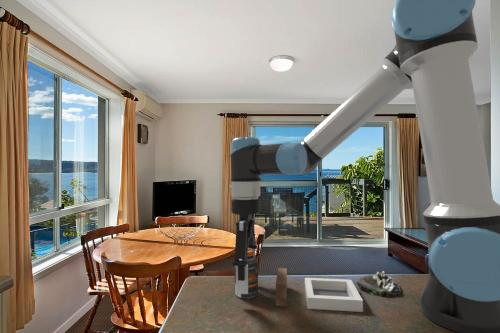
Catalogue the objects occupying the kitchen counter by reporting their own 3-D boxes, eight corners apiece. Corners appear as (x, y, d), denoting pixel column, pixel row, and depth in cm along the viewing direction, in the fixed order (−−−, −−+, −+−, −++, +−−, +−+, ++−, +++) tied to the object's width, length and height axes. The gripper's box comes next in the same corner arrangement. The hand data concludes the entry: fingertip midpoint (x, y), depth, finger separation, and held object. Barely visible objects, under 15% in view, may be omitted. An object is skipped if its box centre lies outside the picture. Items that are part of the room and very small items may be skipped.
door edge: (286, 286, 75) (286, 268, 75) (286, 306, 64) (286, 284, 64) (278, 286, 76) (277, 267, 76) (276, 305, 65) (275, 284, 65)
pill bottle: (240, 301, 67) (239, 253, 68) (231, 291, 73) (231, 247, 73) (262, 296, 70) (261, 250, 70) (252, 287, 75) (251, 245, 75)
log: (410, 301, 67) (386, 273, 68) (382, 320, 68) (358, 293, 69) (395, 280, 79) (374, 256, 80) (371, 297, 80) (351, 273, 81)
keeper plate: (351, 289, 73) (351, 279, 73) (363, 311, 61) (362, 300, 61) (304, 287, 75) (304, 277, 75) (307, 308, 63) (307, 297, 63)
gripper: (239, 194, 84) (240, 265, 84) (219, 203, 60) (220, 303, 60) (264, 194, 83) (265, 266, 83) (254, 203, 59) (255, 305, 59)
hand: (246, 282), depth 71 cm, fingers open, 12 cm apart
